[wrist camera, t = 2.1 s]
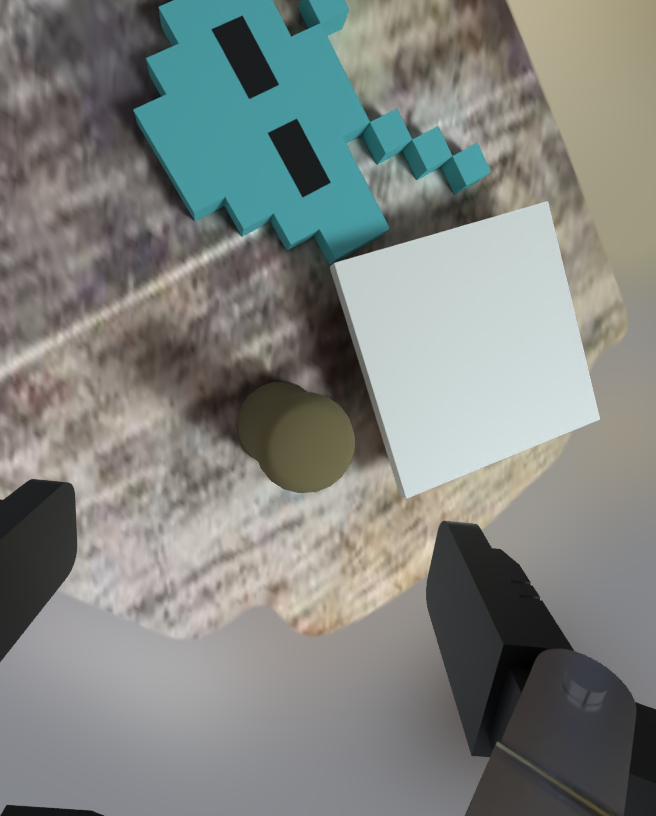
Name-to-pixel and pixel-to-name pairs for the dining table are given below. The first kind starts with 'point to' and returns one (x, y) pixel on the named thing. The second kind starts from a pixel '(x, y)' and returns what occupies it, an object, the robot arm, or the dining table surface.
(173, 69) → the alien figure
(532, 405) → the peg shelf
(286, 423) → the cork
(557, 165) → the dining table surface
